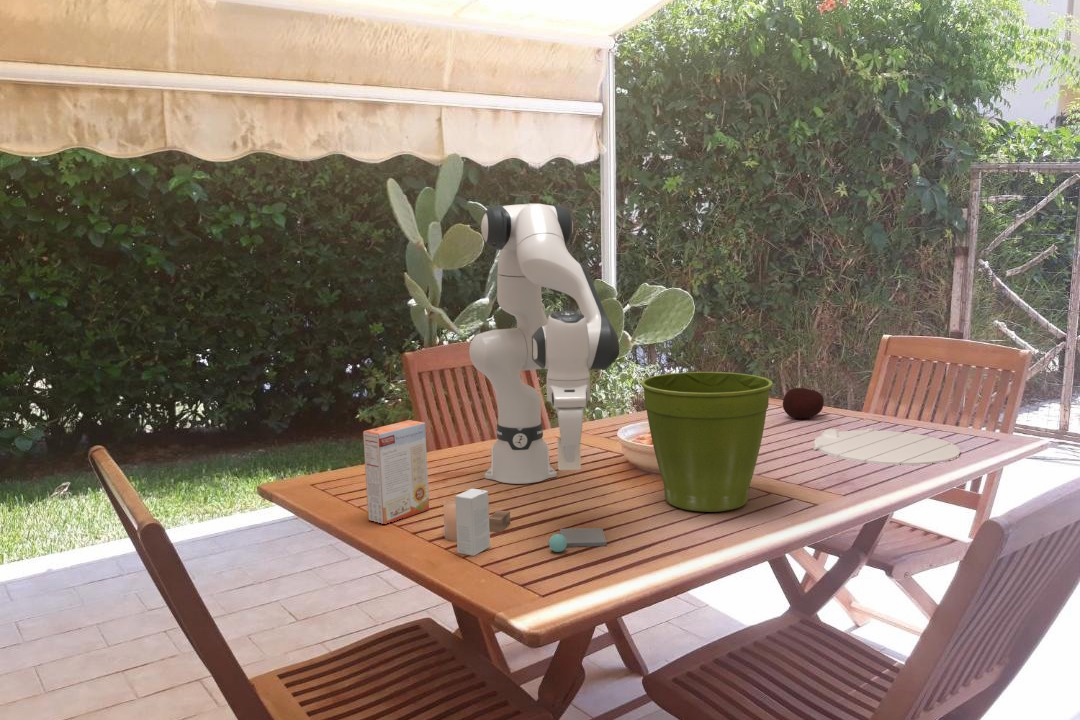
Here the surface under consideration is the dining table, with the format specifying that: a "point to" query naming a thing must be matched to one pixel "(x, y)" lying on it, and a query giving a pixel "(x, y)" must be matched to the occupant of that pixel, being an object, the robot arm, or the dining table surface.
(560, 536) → the teal ball
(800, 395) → the dark brown rounded lump
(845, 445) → the lazy susan
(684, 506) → the plant pot
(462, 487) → the dining table surface
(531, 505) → the dining table surface
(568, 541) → the slate coaster
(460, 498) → the skincare box
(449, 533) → the tan domed cylinder
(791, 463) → the dining table surface
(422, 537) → the dining table surface
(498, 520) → the walnut block
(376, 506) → the cracker box
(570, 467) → the cream block
